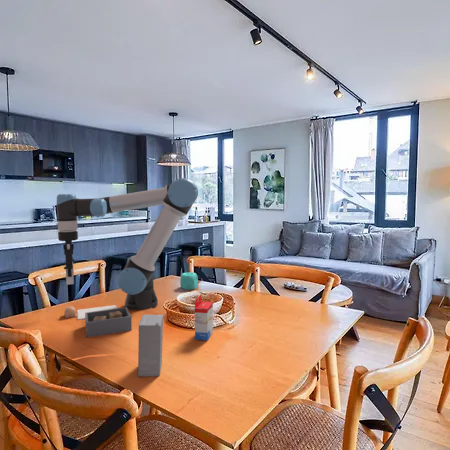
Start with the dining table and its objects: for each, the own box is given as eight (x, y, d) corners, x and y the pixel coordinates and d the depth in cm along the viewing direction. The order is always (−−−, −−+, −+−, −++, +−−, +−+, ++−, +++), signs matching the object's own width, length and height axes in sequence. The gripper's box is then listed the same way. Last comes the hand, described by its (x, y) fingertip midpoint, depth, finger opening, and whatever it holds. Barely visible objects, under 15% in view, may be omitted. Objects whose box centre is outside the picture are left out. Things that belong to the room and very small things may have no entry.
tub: (127, 321, 143) (126, 307, 143) (131, 331, 132) (131, 316, 132) (85, 327, 137) (85, 312, 136) (86, 339, 126) (86, 323, 125)
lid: (116, 307, 162) (115, 298, 161) (119, 315, 150) (118, 306, 150) (64, 313, 153) (64, 303, 153) (64, 323, 142) (63, 312, 141)
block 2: (119, 322, 140) (119, 310, 139) (122, 325, 136) (122, 313, 136) (109, 325, 138) (108, 312, 137) (112, 328, 134) (111, 315, 134)
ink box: (207, 341, 123) (207, 301, 122) (194, 340, 124) (193, 300, 123) (213, 331, 132) (213, 294, 130) (200, 330, 133) (200, 293, 131)
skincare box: (141, 363, 107) (140, 314, 106) (164, 362, 108) (163, 313, 106) (137, 378, 99) (135, 324, 97) (162, 376, 99) (161, 323, 98)
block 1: (106, 328, 134) (106, 315, 134) (104, 332, 130) (104, 319, 130) (96, 329, 134) (95, 316, 133) (93, 333, 130) (93, 320, 129)
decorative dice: (180, 289, 190) (180, 275, 189) (184, 285, 198) (184, 272, 197) (194, 290, 189) (194, 275, 188) (198, 286, 197) (197, 272, 196)
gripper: (59, 228, 155) (61, 275, 157) (56, 234, 132) (59, 288, 134) (77, 227, 158) (79, 273, 160) (77, 233, 135) (80, 286, 137)
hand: (70, 280), depth 147 cm, fingers open, 13 cm apart
